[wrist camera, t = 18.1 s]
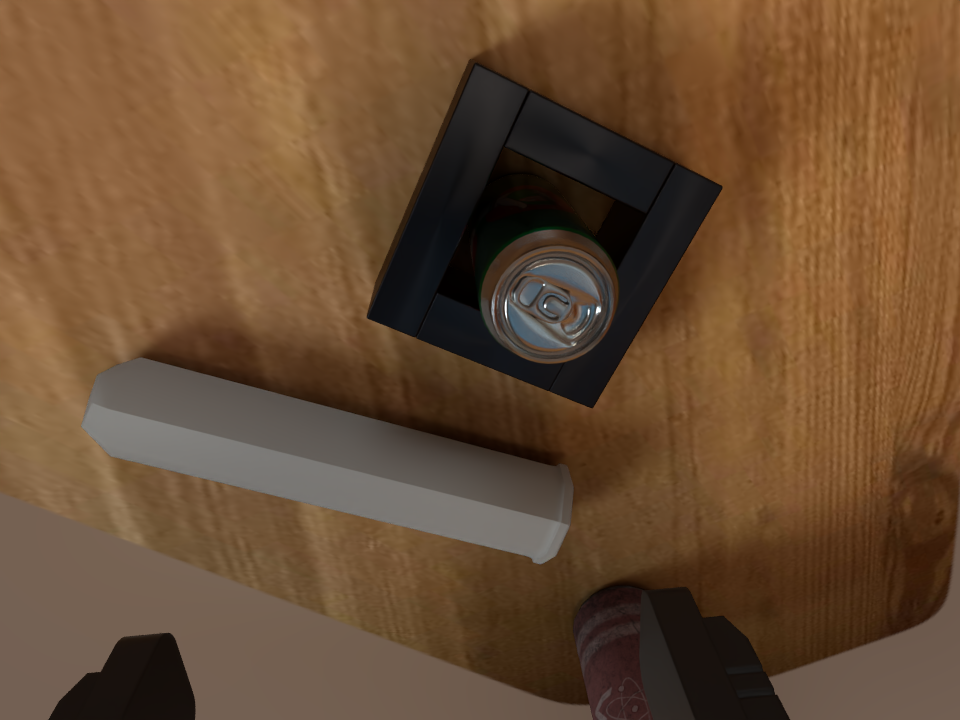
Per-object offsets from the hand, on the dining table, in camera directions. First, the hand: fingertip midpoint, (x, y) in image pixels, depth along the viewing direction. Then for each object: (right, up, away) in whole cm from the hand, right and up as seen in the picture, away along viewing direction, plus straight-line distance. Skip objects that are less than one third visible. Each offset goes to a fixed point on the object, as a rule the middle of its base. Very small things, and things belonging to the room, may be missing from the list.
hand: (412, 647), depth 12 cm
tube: (-7, +1, +28) cm, 28 cm away
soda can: (+3, +12, +23) cm, 26 cm away
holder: (+3, +12, +23) cm, 26 cm away
